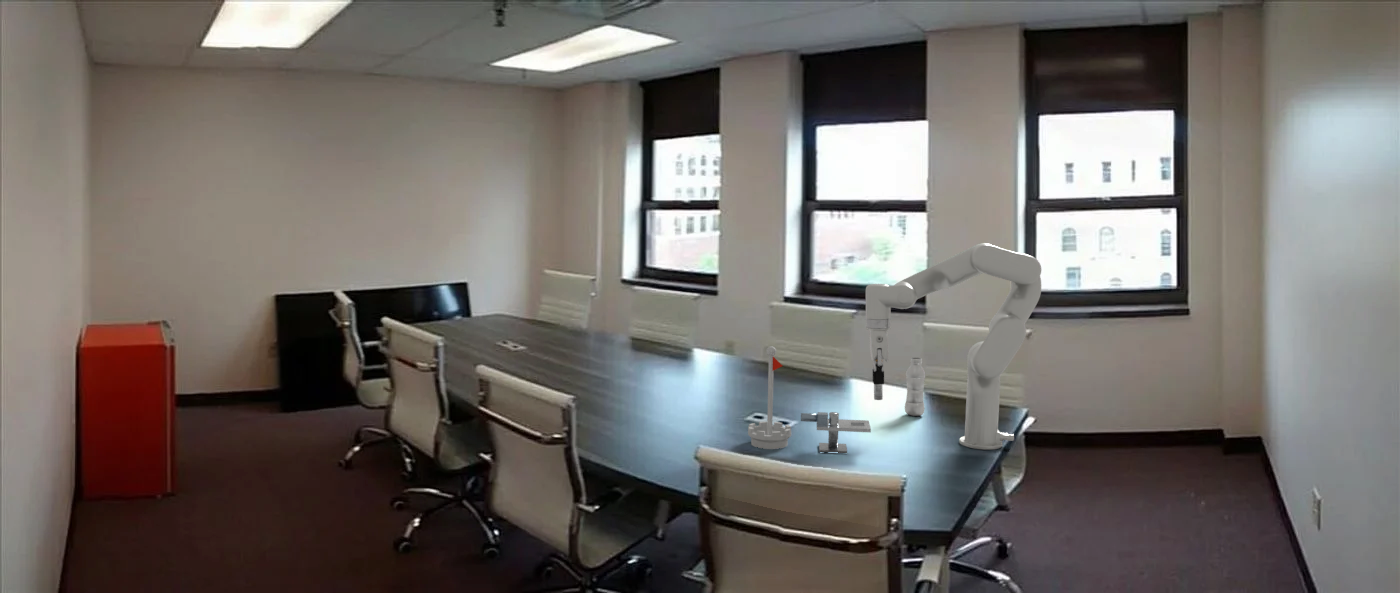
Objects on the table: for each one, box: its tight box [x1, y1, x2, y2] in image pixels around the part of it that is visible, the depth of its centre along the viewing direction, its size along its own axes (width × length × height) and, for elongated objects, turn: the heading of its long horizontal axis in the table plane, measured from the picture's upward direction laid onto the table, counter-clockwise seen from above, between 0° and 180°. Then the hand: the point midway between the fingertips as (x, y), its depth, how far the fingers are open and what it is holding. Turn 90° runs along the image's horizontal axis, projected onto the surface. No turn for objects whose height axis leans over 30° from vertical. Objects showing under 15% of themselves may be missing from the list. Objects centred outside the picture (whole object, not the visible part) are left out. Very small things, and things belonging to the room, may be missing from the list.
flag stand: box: [747, 346, 792, 450], centre depth 268 cm, size 13×13×30 cm
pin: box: [873, 360, 884, 401], centre depth 276 cm, size 3×3×14 cm
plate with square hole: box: [800, 411, 872, 454], centre depth 264 cm, size 20×10×11 cm, turn 83°
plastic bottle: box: [904, 357, 926, 417], centre depth 307 cm, size 6×7×20 cm
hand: (878, 382), depth 276 cm, fingers closed on pin, 2 cm apart
